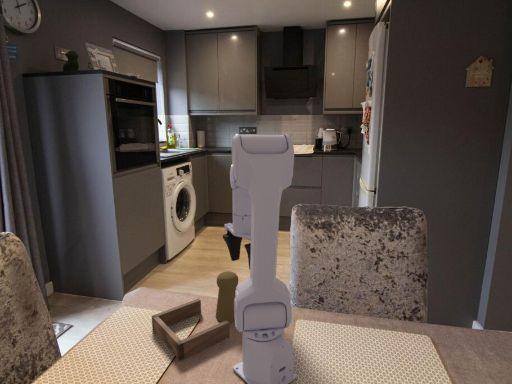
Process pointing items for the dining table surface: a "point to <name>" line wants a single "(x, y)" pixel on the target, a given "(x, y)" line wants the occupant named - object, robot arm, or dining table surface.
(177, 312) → the open u-shaped frame
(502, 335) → the dining table surface
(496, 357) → the dining table surface
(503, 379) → the dining table surface
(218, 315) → the olive pawn shape
